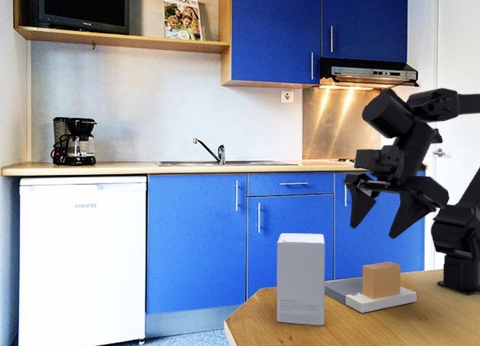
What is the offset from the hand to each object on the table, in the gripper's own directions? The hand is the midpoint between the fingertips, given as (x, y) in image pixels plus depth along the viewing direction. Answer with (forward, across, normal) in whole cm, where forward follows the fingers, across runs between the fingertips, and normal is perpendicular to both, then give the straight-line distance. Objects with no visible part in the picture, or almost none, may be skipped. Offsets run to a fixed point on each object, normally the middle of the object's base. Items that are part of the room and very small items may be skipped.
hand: (370, 232), depth 63 cm
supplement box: (+18, -2, -4) cm, 18 cm away
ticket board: (+10, -6, +9) cm, 14 cm away
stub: (+9, 0, +9) cm, 13 cm away
